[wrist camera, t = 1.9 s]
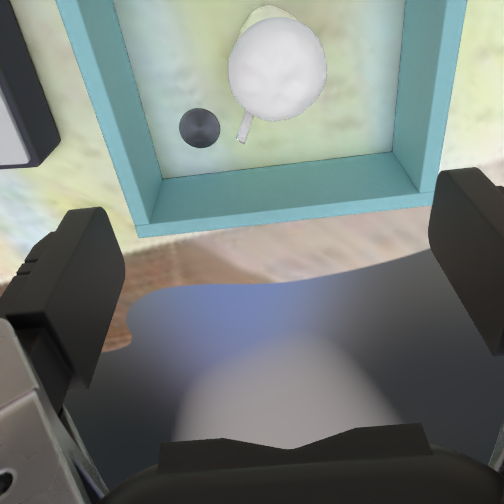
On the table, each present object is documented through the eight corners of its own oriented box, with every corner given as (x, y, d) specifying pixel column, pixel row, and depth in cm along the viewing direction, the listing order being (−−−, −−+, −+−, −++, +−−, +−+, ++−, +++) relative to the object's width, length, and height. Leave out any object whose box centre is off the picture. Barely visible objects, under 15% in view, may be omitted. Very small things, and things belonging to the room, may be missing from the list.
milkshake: (209, 56, 27) (197, 114, 19) (259, -27, 24) (269, 0, 16) (267, 98, 28) (278, 167, 21) (320, 25, 26) (356, 72, 18)
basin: (52, -143, 21) (-2, -160, 16) (445, -207, 20) (509, -245, 15) (153, 192, 33) (138, 238, 28) (404, 162, 32) (433, 205, 27)
